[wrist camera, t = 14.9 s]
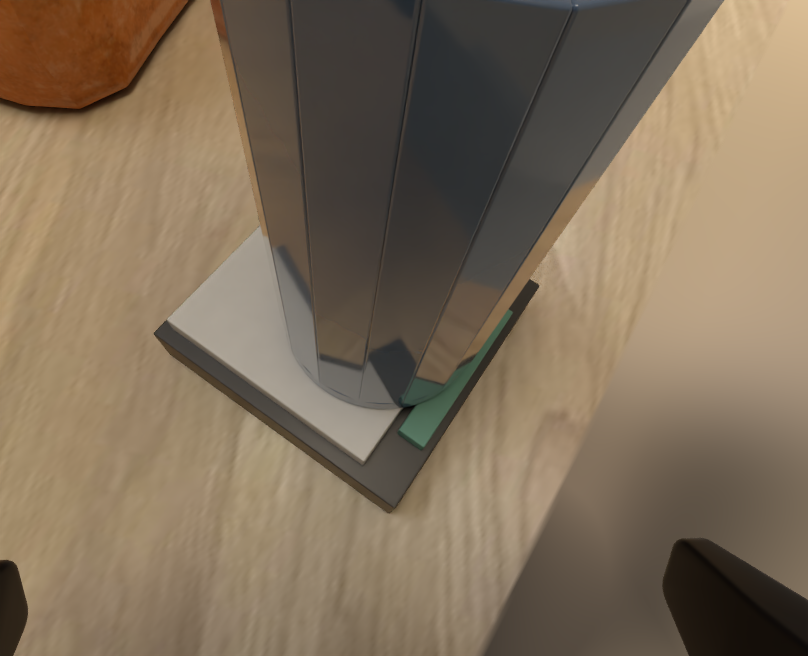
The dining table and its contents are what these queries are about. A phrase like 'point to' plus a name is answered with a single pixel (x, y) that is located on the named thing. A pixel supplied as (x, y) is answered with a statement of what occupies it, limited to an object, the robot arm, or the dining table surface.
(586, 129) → the tumbler
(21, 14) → the bread
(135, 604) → the dining table surface
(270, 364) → the kitchen scale
